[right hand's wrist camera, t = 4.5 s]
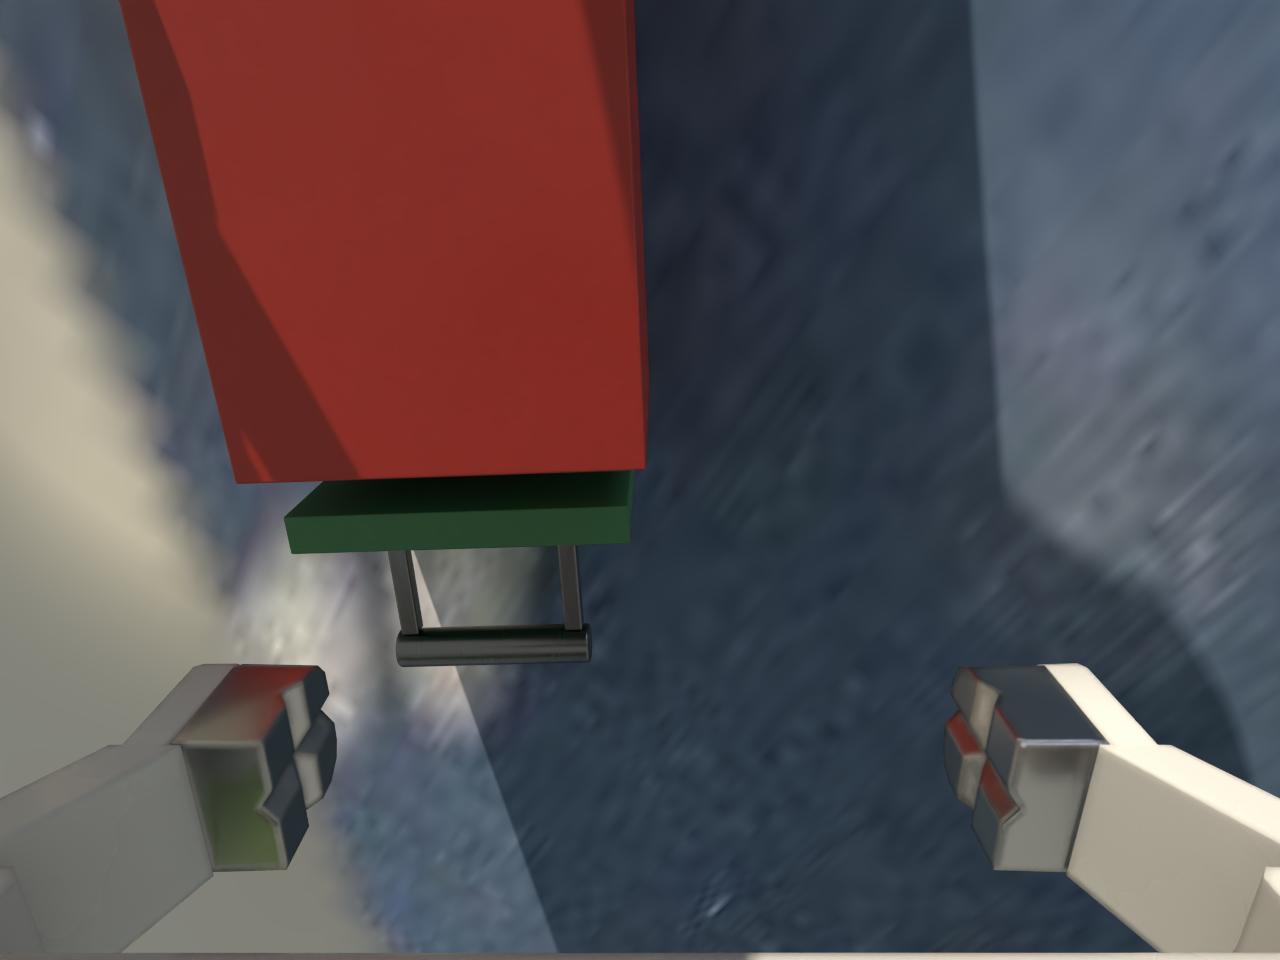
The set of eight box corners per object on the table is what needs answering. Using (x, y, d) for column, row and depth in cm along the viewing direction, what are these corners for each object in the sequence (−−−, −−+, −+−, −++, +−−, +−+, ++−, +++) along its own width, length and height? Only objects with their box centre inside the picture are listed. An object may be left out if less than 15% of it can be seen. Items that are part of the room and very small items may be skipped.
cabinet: (649, 384, 30) (646, 471, 21) (356, 395, 30) (234, 484, 22) (618, -368, 22) (594, -719, 14) (227, -340, 23) (-43, -663, 14)
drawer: (642, 590, 32) (638, 706, 25) (397, 597, 32) (326, 713, 25) (604, -214, 23) (579, -385, 16) (261, -191, 23) (89, -349, 16)
